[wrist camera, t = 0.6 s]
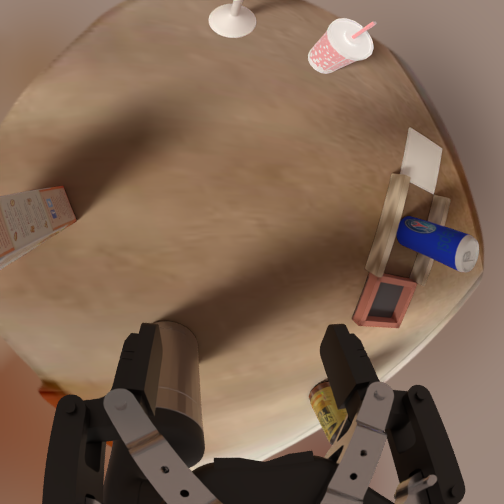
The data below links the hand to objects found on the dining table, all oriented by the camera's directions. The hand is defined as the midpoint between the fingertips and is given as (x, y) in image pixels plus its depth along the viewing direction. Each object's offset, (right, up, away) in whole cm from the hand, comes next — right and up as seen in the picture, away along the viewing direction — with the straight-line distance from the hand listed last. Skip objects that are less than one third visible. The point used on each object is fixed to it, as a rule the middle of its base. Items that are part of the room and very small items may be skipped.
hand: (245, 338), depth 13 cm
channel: (+26, +8, +30) cm, 40 cm away
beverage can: (+26, +8, +30) cm, 40 cm away
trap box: (+23, -4, +32) cm, 40 cm away
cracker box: (-31, +8, +19) cm, 37 cm away
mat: (+29, +19, +27) cm, 44 cm away
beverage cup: (+10, +32, +20) cm, 39 cm away
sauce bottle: (+14, -24, +37) cm, 46 cm away
